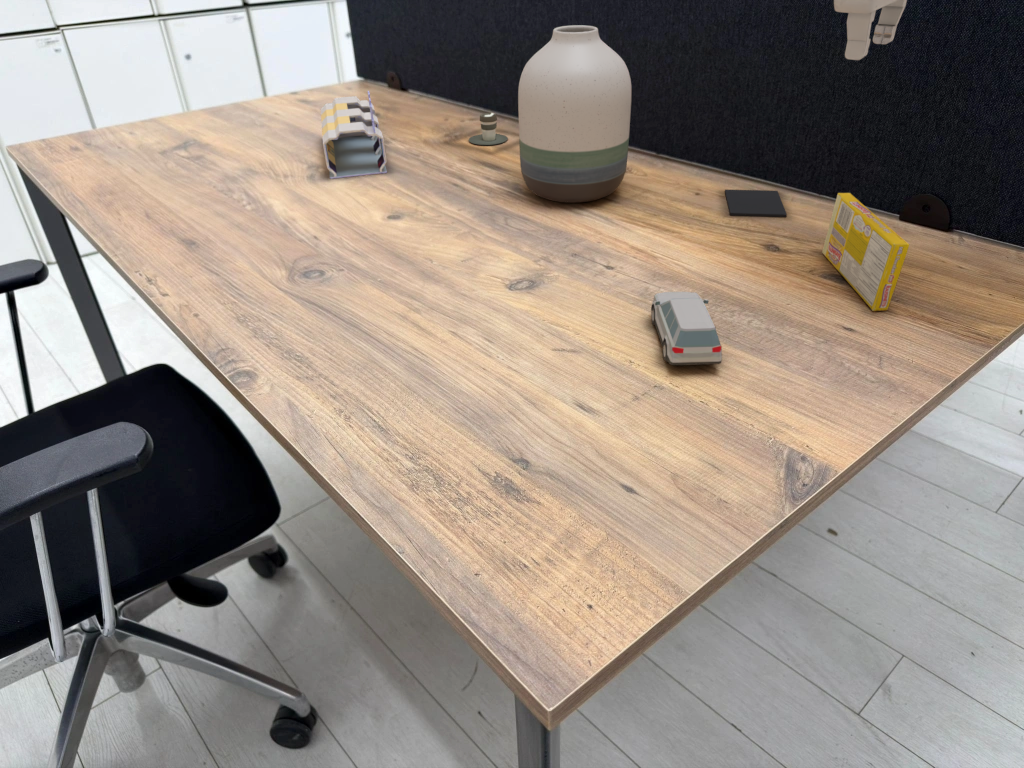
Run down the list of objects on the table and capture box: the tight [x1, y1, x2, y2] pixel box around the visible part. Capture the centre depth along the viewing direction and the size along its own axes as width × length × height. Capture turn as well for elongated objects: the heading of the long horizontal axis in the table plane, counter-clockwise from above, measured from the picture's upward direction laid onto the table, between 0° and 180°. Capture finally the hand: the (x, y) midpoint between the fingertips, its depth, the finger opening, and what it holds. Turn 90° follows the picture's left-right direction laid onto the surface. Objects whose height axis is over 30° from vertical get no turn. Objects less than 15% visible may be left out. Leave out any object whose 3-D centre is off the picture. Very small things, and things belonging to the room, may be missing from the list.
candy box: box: [821, 192, 910, 312], centre depth 86 cm, size 16×2×8 cm, turn 0°
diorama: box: [320, 90, 388, 179], centre depth 133 cm, size 25×10×13 cm, turn 13°
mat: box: [724, 189, 788, 218], centre depth 110 cm, size 8×10×1 cm
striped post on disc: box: [468, 112, 509, 146], centre depth 141 cm, size 12×12×5 cm
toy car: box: [650, 291, 723, 366], centre depth 76 cm, size 6×13×5 cm, turn 0°
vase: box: [517, 24, 632, 204], centre depth 110 cm, size 17×17×24 cm
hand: (869, 50), depth 75 cm, fingers open, 8 cm apart
